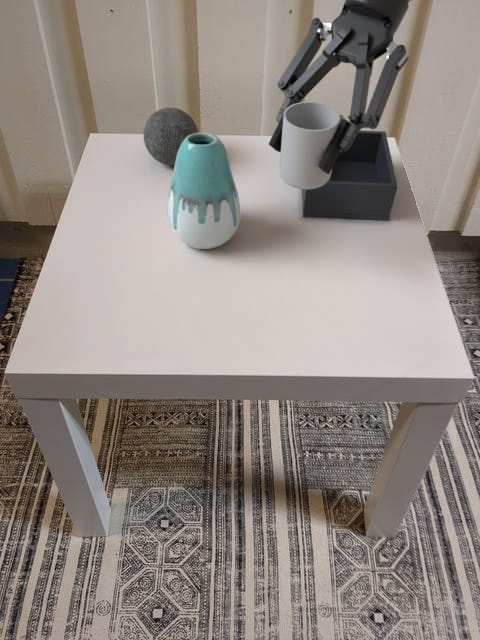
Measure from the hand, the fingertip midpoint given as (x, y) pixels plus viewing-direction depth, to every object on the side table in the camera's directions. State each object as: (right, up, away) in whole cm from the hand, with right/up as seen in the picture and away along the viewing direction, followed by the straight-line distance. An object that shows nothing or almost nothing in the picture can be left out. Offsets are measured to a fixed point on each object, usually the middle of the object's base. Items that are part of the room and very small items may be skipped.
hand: (298, 158), depth 75 cm
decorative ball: (-20, +9, +32) cm, 39 cm away
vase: (-13, -8, +18) cm, 24 cm away
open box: (+11, +2, +27) cm, 29 cm away
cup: (+2, -1, +4) cm, 5 cm away
